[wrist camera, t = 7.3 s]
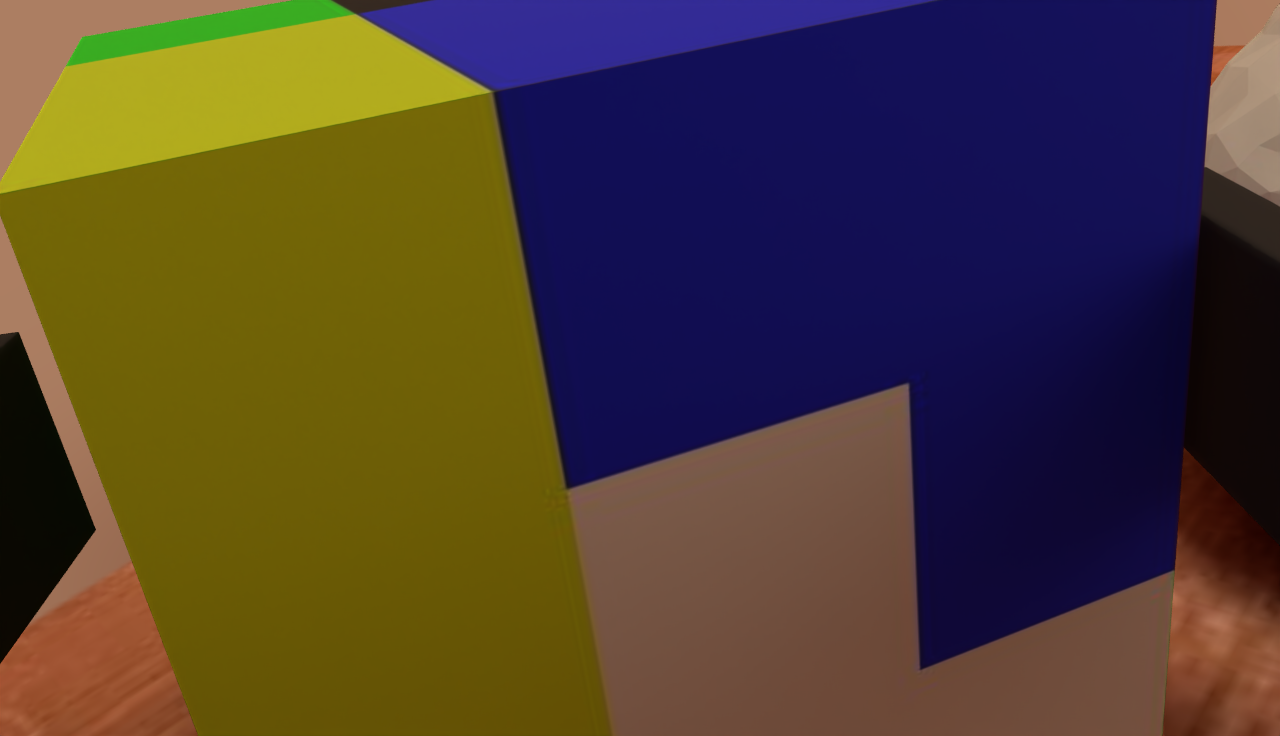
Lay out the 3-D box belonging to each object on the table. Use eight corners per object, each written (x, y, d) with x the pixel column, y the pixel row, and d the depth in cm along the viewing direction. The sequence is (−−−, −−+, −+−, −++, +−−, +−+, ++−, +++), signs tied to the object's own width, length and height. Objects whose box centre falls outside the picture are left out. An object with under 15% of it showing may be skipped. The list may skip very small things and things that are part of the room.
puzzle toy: (1158, 790, 14) (1220, -60, 10) (359, 1157, 12) (-8, 195, 7) (782, 456, 23) (732, -78, 19) (273, 620, 20) (82, 36, 16)
